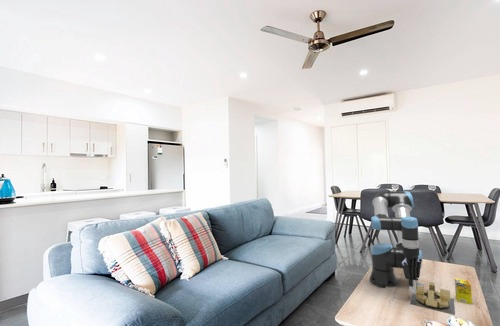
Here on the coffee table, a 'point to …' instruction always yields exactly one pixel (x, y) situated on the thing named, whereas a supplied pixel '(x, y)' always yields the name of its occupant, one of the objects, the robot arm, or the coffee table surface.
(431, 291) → the ring nut
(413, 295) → the flange plate
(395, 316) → the coffee table surface
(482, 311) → the coffee table surface
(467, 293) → the supplement box
